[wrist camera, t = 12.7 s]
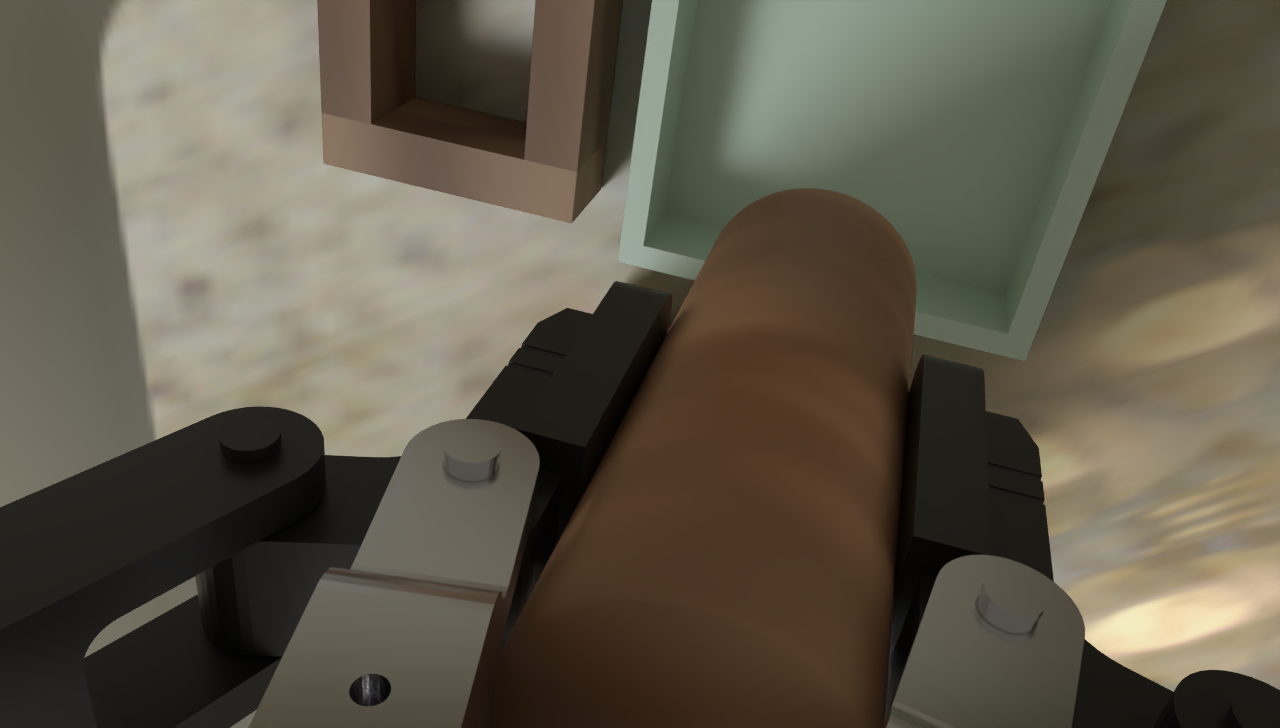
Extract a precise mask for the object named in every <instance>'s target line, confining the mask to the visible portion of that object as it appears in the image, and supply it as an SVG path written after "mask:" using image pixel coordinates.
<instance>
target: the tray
mask: <svg viewBox="0 0 1280 728" xmlns="http://www.w3.org/2000/svg"><path fill="white" fill-rule="evenodd" d="M1166 2H1167V0H652V5H651V13H650V20H649V28H648V36H647V43H646V51H645V58H644V66H643V74H642V81H641V89H640V96H639V104H638V112H637V119H636V127H635V134H634V142H633V150H632V157H631V165H630V172H629V180H628V188H627V195H626V203H625V211H624V218H623V226H622V233H621V241H620V249H619V256H618V262H621V263H625V264H629V265H633V266H637V267H641V268H645V269H650V270H654V271H658V272H662V273H666V274H670V275H674V276H678V277H682V278H686V279H690V280H694V281H695V279H696V277H697V276H698V274H699V272H700V270H701V268H702V266H703V264H704V262H705V260H706V258H707V256H708V255H709V253H710V251H711V249H712V247H713V245H714V243H715V241H716V240H717V238H718V236H719V234H720V233H721V231H722V230H723V228H724V227H725V226H726V225H727V223H728V222H729V221H730V220H731V219H732V218H733V217H734V216H735V215H736V214H737V213H738V212H740V211H741V210H742V209H744V208H745V207H747V206H748V205H749V204H751V203H753V202H755V201H757V200H759V199H760V198H762V197H765V196H768V195H770V194H773V193H776V192H781V191H785V190H790V189H800V188H817V189H824V190H831V191H835V192H838V193H842V194H846V195H848V196H850V197H853V198H855V199H858V200H860V201H862V202H863V203H865V204H867V205H868V206H870V207H872V208H873V209H874V210H876V211H877V212H878V213H880V214H881V215H882V216H884V217H885V218H886V219H887V220H888V221H889V222H890V223H891V224H892V225H893V227H894V228H895V229H896V231H897V232H898V233H899V234H900V236H901V237H902V239H903V241H904V242H905V244H906V246H907V248H908V250H909V252H910V255H911V257H912V260H913V263H914V268H915V272H916V280H917V295H916V309H915V323H914V334H915V335H919V336H923V337H927V338H931V339H935V340H939V341H943V342H947V343H951V344H955V345H959V346H964V347H968V348H972V349H976V350H980V351H984V352H988V353H992V354H996V355H1000V356H1004V357H1008V358H1012V359H1017V360H1021V361H1026V358H1027V356H1028V353H1029V350H1030V348H1031V345H1032V343H1033V340H1034V338H1035V335H1036V333H1037V330H1038V328H1039V325H1040V322H1041V320H1042V317H1043V315H1044V312H1045V310H1046V307H1047V305H1048V302H1049V300H1050V297H1051V294H1052V292H1053V289H1054V287H1055V284H1056V282H1057V279H1058V277H1059V274H1060V271H1061V269H1062V266H1063V264H1064V261H1065V259H1066V256H1067V254H1068V251H1069V249H1070V246H1071V243H1072V241H1073V238H1074V236H1075V233H1076V231H1077V228H1078V226H1079V223H1080V221H1081V218H1082V215H1083V213H1084V210H1085V208H1086V205H1087V203H1088V200H1089V198H1090V195H1091V193H1092V190H1093V187H1094V185H1095V182H1096V180H1097V177H1098V175H1099V172H1100V170H1101V167H1102V165H1103V162H1104V159H1105V157H1106V154H1107V152H1108V149H1109V147H1110V144H1111V142H1112V139H1113V137H1114V134H1115V131H1116V129H1117V126H1118V124H1119V121H1120V119H1121V116H1122V114H1123V111H1124V108H1125V106H1126V103H1127V101H1128V98H1129V96H1130V93H1131V91H1132V88H1133V86H1134V83H1135V80H1136V78H1137V75H1138V73H1139V70H1140V68H1141V65H1142V63H1143V60H1144V58H1145V55H1146V52H1147V50H1148V47H1149V45H1150V42H1151V40H1152V37H1153V35H1154V32H1155V30H1156V27H1157V24H1158V22H1159V19H1160V17H1161V14H1162V12H1163V9H1164V7H1165V4H1166Z"/></svg>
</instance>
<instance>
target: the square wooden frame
mask: <svg viewBox="0 0 1280 728" xmlns="http://www.w3.org/2000/svg"><path fill="white" fill-rule="evenodd" d="M317 3H318V29H319V55H320V81H321V107H322V133H323V159H324V164H328V165H332V166H336V167H340V168H344V169H348V170H352V171H357V172H361V173H365V174H369V175H373V176H377V177H382V178H386V179H390V180H394V181H398V182H402V183H406V184H411V185H415V186H419V187H423V188H427V189H431V190H436V191H440V192H444V193H448V194H452V195H456V196H460V197H465V198H469V199H473V200H477V201H481V202H485V203H490V204H494V205H498V206H502V207H506V208H510V209H514V210H519V211H523V212H527V213H531V214H535V215H539V216H544V217H548V218H552V219H556V220H560V221H564V222H568V223H572V222H573V221H574V220H575V219H576V218H577V217H578V215H579V214H580V213H581V212H582V211H583V210H584V208H585V207H586V206H587V205H588V204H589V203H590V201H591V200H592V199H593V198H594V197H595V195H596V194H597V193H598V192H599V191H600V190H601V184H602V176H603V167H604V159H605V150H606V141H607V133H608V124H609V116H610V107H611V99H612V90H613V81H614V73H615V64H616V56H617V47H618V39H619V30H620V21H621V13H622V4H623V0H536V3H535V17H534V31H533V44H532V58H531V72H530V86H529V100H528V114H527V123H525V122H521V121H516V120H512V119H508V118H503V117H499V116H494V115H490V114H485V113H481V112H477V111H472V110H468V109H463V108H459V107H454V106H450V105H446V104H441V103H437V102H432V101H428V100H423V99H419V98H415V26H416V0H317Z"/></svg>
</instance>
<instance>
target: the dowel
mask: <svg viewBox="0 0 1280 728" xmlns="http://www.w3.org/2000/svg"><path fill="white" fill-rule="evenodd" d="M916 295H917V280H916V272H915V268H914V263H913V260H912V257H911V255H910V252H909V250H908V248H907V246H906V244H905V242H904V241H903V239H902V237H901V236H900V234H899V233H898V232H897V231H896V229H895V228H894V227H893V225H892V224H891V223H890V222H889V221H888V220H887V219H886V218H885V217H884V216H882V215H881V214H880V213H878V212H877V211H876V210H874V209H873V208H872V207H870V206H868V205H867V204H865V203H863V202H862V201H860V200H858V199H855V198H853V197H850V196H848V195H846V194H842V193H838V192H835V191H831V190H824V189H817V188H800V189H790V190H785V191H781V192H776V193H773V194H770V195H768V196H765V197H762V198H760V199H759V200H757V201H755V202H753V203H751V204H749V205H748V206H747V207H745V208H744V209H742V210H741V211H740V212H738V213H737V214H736V215H735V216H734V217H733V218H732V219H731V220H730V221H729V222H728V223H727V225H726V226H725V227H724V228H723V230H722V231H721V233H720V234H719V236H718V238H717V240H716V241H715V243H714V245H713V247H712V249H711V251H710V253H709V255H708V256H707V258H706V260H705V262H704V264H703V266H702V268H701V270H700V272H699V274H698V276H697V277H696V279H695V281H694V283H693V285H692V287H691V289H690V291H689V293H688V295H687V297H686V298H685V300H684V302H683V304H682V306H681V308H680V310H679V312H678V314H677V316H676V318H675V319H674V321H673V323H672V325H671V327H670V329H669V331H668V333H667V335H666V337H665V339H664V341H663V343H662V345H661V346H660V348H659V350H658V352H657V354H656V356H655V358H654V360H653V362H652V364H651V366H650V368H649V369H648V371H647V373H646V375H645V377H644V379H643V381H642V383H641V385H640V387H639V389H638V390H637V392H636V394H635V396H634V398H633V400H632V402H631V404H630V406H629V408H628V410H627V411H626V413H625V415H624V417H623V419H622V421H621V423H620V425H619V427H618V429H617V431H616V433H615V434H614V436H613V438H612V440H611V442H610V444H609V446H608V448H607V450H606V452H605V454H604V455H603V457H602V459H601V461H600V463H599V465H598V467H597V469H596V471H595V473H594V475H593V476H592V478H591V480H590V482H589V484H588V486H587V488H586V490H585V492H584V494H583V496H582V498H581V499H580V501H579V503H578V505H577V507H576V509H575V511H574V512H573V514H572V516H571V518H570V520H569V522H568V524H567V526H566V528H565V530H564V532H563V533H562V535H561V537H560V539H559V541H558V543H557V545H556V547H555V549H554V551H553V553H552V554H551V556H550V558H549V560H548V562H547V564H546V566H545V568H544V570H543V572H542V574H541V575H540V577H539V579H538V581H537V583H536V585H535V587H534V589H533V591H532V593H531V595H530V596H529V598H528V600H527V602H526V604H525V606H524V608H523V610H522V612H521V614H520V616H519V617H518V619H517V621H516V623H515V625H514V627H513V629H512V631H511V633H510V635H509V637H508V639H507V640H506V642H505V644H504V646H503V648H502V650H501V652H500V655H499V661H498V668H497V675H496V684H495V697H494V710H493V724H492V728H883V726H884V722H885V709H886V696H887V682H888V669H889V656H890V642H891V629H892V616H893V601H894V582H895V569H896V556H897V543H898V530H899V516H900V503H901V490H902V477H903V464H904V451H905V437H906V424H907V411H908V398H909V389H910V376H911V363H912V349H913V336H914V323H915V309H916Z"/></svg>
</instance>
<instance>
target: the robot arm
mask: <svg viewBox="0 0 1280 728" xmlns="http://www.w3.org/2000/svg"><path fill="white" fill-rule="evenodd" d="M671 307H672V296H671V294H668V293H664V292H660V291H656V290H652V289H647V288H643V287H639V286H635V285H631V284H627V283H622V282H618V281H616V282H614V283H613V285H612V286H611V288H610V289H609V291H608V292H607V294H606V295H605V297H604V298H603V300H602V301H601V303H600V304H599V306H598V307H597V309H596V310H595V312H594V313H593V314H590V313H586V312H582V311H578V310H573V309H569V308H566V309H564V310H562V311H560V312H558V313H556V314H554V315H552V316H550V317H548V318H546V319H544V320H542V321H540V322H538V323H537V325H536V326H535V327H534V329H533V330H532V331H531V333H530V334H529V335H528V337H527V338H526V339H525V341H524V342H523V343H522V347H521V348H519V349H518V350H517V351H516V353H515V354H514V355H513V357H512V358H511V359H510V361H509V364H508V366H505V367H504V369H503V370H502V371H501V373H500V374H499V375H498V377H497V378H496V379H495V381H494V382H493V383H492V385H491V386H490V387H489V389H488V390H487V391H486V393H485V394H484V395H483V397H482V398H481V399H480V401H479V402H478V403H477V405H476V406H475V407H474V409H473V410H472V411H471V413H470V414H469V415H468V417H467V418H466V419H459V420H451V421H446V422H442V423H439V424H436V425H433V426H430V427H429V428H427V429H425V430H423V431H421V432H420V433H418V434H417V435H416V436H414V437H413V438H412V439H411V440H410V441H409V443H408V444H407V446H406V448H405V449H404V452H403V454H402V456H398V457H354V456H332V455H325V453H324V438H323V435H322V433H321V431H320V429H319V428H318V427H317V425H316V424H315V423H313V422H312V421H311V420H310V419H308V418H306V417H305V416H303V415H301V414H298V413H296V412H293V411H290V410H286V409H281V408H274V407H245V408H239V409H233V410H229V411H225V412H222V413H219V414H216V415H213V416H211V417H208V418H206V419H204V420H201V421H199V422H197V423H195V424H192V425H190V426H188V427H185V428H183V429H181V430H178V431H176V432H174V433H171V434H169V435H167V436H164V437H162V438H160V439H158V440H155V441H153V442H151V443H148V444H146V445H144V446H142V447H139V448H137V449H134V450H132V451H130V452H127V453H125V454H123V455H121V456H118V457H116V458H114V459H111V460H109V461H107V462H105V463H102V464H100V465H97V466H95V467H93V468H90V469H88V470H86V471H84V472H81V473H79V474H77V475H74V476H72V477H70V478H67V479H65V480H63V481H60V482H58V483H56V484H53V485H51V486H49V487H47V488H44V489H42V490H40V491H38V492H35V493H33V494H30V495H28V496H26V497H24V498H21V499H19V500H16V501H14V502H12V503H10V504H7V505H5V506H3V507H1V508H0V728H230V727H231V726H233V725H234V724H236V723H237V722H239V721H240V720H242V719H243V718H245V717H246V716H248V715H249V714H251V713H252V712H253V711H255V710H257V711H256V713H255V715H254V717H253V719H252V721H251V723H250V725H249V727H248V728H492V724H493V710H494V697H495V684H496V675H497V668H498V661H499V655H500V652H501V650H502V648H503V646H504V644H505V642H506V640H507V639H508V637H509V635H510V633H511V631H512V629H513V627H514V625H515V623H516V621H517V619H518V617H519V616H520V614H521V612H522V610H523V608H524V606H525V604H526V602H527V600H528V598H529V596H530V595H531V593H532V591H533V589H534V587H535V585H536V583H537V581H538V579H539V577H540V575H541V574H542V572H543V570H544V568H545V566H546V564H547V562H548V560H549V558H550V556H551V554H552V553H553V551H554V549H555V547H556V545H557V543H558V541H559V539H560V537H561V535H562V533H563V532H564V530H565V528H566V526H567V524H568V522H569V520H570V518H571V516H572V514H573V512H574V511H575V509H576V507H577V505H578V503H579V501H580V499H581V498H582V496H583V494H584V492H585V490H586V488H587V486H588V484H589V482H590V480H591V478H592V476H593V475H594V473H595V471H596V469H597V467H598V465H599V463H600V461H601V459H602V457H603V455H604V454H605V452H606V450H607V448H608V446H609V444H610V442H611V440H612V438H613V436H614V434H615V433H616V431H617V429H618V427H619V425H620V423H621V421H622V419H623V417H624V415H625V413H626V411H627V410H628V408H629V406H630V404H631V402H632V400H633V398H634V396H635V394H636V392H637V390H638V389H639V387H640V385H641V383H642V381H643V379H644V377H645V375H646V373H647V371H648V369H649V368H650V366H651V364H652V362H653V360H654V358H655V356H656V354H657V352H658V350H659V348H660V346H661V345H662V343H663V341H664V339H665V337H666V335H667V333H668V327H669V321H670V315H671ZM1041 477H1042V473H1041V464H1040V455H1039V448H1038V446H1037V445H1036V444H1035V442H1034V441H1033V439H1032V438H1031V437H1030V435H1029V434H1028V432H1027V431H1026V430H1025V428H1024V427H1023V425H1022V424H1021V423H1020V421H1019V420H1018V419H1015V418H1011V417H1007V416H1003V415H999V414H995V413H991V412H987V411H986V410H985V384H984V371H983V369H980V368H976V367H971V366H967V365H963V364H959V363H955V362H951V361H946V360H942V359H938V358H934V357H930V356H926V355H923V356H922V357H921V359H920V361H919V363H918V366H917V369H916V372H915V375H914V378H913V381H912V384H911V387H910V390H909V398H908V411H907V424H906V437H905V451H904V464H903V477H902V490H901V503H900V516H899V530H898V543H897V556H896V569H895V582H894V601H893V616H892V629H891V642H890V656H889V669H888V682H887V696H886V709H885V722H884V726H883V728H1280V690H1278V689H1276V688H1274V687H1272V686H1270V685H1269V684H1267V683H1264V682H1262V681H1259V680H1257V679H1255V678H1252V677H1249V676H1246V675H1242V674H1239V673H1234V672H1229V671H1223V670H1206V671H1199V672H1196V673H1193V674H1190V675H1189V676H1187V677H1185V678H1184V679H1183V680H1182V681H1181V682H1180V683H1179V684H1178V686H1177V687H1176V689H1175V691H1174V692H1173V691H1171V690H1169V689H1167V688H1165V687H1163V686H1161V685H1159V684H1157V683H1155V682H1153V681H1151V680H1149V679H1147V678H1145V677H1143V676H1141V675H1140V674H1138V673H1136V672H1134V671H1132V670H1130V669H1128V668H1126V667H1124V666H1122V665H1121V664H1119V663H1117V662H1115V661H1114V660H1112V659H1110V658H1109V657H1107V656H1106V655H1104V654H1103V653H1101V652H1100V651H1099V650H1097V649H1096V648H1095V647H1094V646H1092V645H1091V644H1090V643H1089V642H1087V641H1086V640H1085V626H1084V622H1083V618H1082V616H1081V614H1080V611H1079V609H1078V608H1077V606H1076V605H1075V603H1074V602H1073V600H1072V599H1071V598H1070V597H1069V596H1068V595H1067V594H1066V592H1065V591H1064V590H1063V589H1061V588H1060V587H1059V586H1058V585H1057V584H1056V583H1055V582H1054V580H1053V571H1052V562H1051V553H1050V544H1049V535H1048V526H1047V518H1046V509H1045V505H1043V502H1044V491H1043V482H1042V481H1041ZM194 576H195V578H196V585H197V591H198V595H196V596H194V597H192V598H191V599H189V600H187V601H185V602H184V603H182V604H180V605H178V606H176V607H174V608H173V609H171V610H169V611H168V612H166V613H164V614H162V615H160V616H159V617H157V618H155V619H153V620H152V621H150V622H148V623H146V624H144V625H143V626H141V627H139V628H137V629H135V630H134V631H132V632H130V633H128V634H126V635H125V636H123V637H121V638H119V639H117V640H116V641H114V642H112V643H110V644H109V645H107V646H105V647H103V648H102V649H100V650H98V651H96V652H94V653H93V654H91V655H89V656H87V657H85V654H86V651H87V649H88V647H89V646H90V644H91V643H92V641H93V640H94V638H95V637H96V636H97V635H98V634H99V633H100V632H101V631H102V630H103V629H104V628H105V627H106V626H107V625H109V624H110V623H111V622H113V621H115V620H116V619H118V618H120V617H121V616H123V615H125V614H127V613H129V612H130V611H132V610H134V609H136V608H138V607H140V606H141V605H143V604H145V603H147V602H149V601H151V600H152V599H154V598H156V597H158V596H160V595H162V594H163V593H165V592H167V591H169V590H171V589H173V588H174V587H176V586H178V585H180V584H181V583H184V582H185V581H187V580H189V579H191V578H193V577H194ZM84 657H85V658H84Z"/></svg>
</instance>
